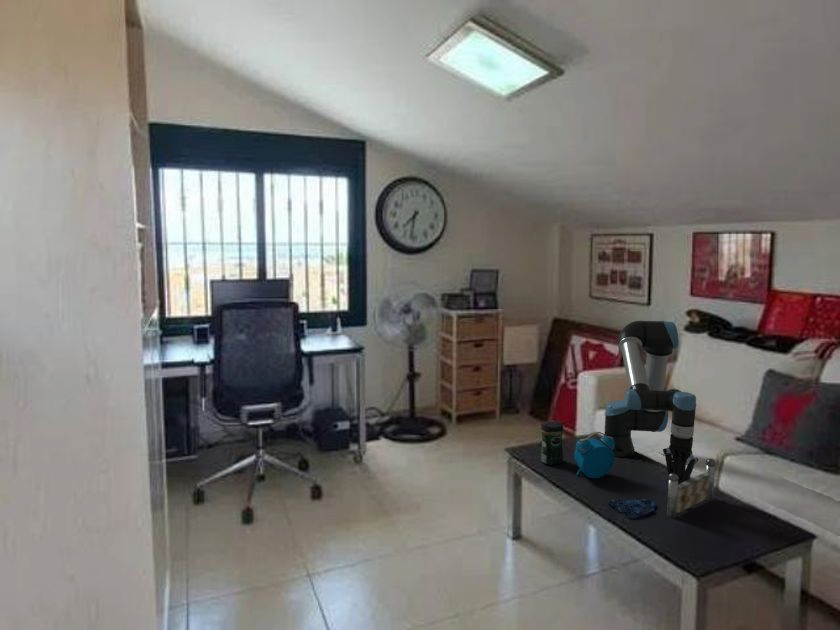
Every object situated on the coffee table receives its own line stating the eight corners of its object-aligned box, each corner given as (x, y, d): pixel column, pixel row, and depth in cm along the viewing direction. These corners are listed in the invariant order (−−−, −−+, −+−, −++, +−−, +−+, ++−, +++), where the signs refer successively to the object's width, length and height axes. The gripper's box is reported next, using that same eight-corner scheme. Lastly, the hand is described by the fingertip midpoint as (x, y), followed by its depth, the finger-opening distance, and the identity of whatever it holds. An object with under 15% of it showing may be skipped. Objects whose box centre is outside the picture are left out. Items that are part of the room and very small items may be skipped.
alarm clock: (603, 469, 247) (605, 424, 245) (617, 479, 237) (619, 432, 235) (568, 473, 243) (569, 427, 240) (580, 483, 233) (582, 435, 231)
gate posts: (706, 496, 221) (709, 456, 219) (715, 499, 218) (717, 459, 216) (664, 515, 206) (666, 472, 204) (673, 519, 203) (675, 475, 201)
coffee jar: (556, 457, 261) (557, 417, 259) (565, 464, 254) (566, 423, 251) (537, 460, 259) (538, 419, 256) (545, 466, 251) (546, 425, 249)
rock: (603, 503, 216) (603, 498, 216) (642, 498, 221) (643, 493, 220) (627, 522, 202) (627, 516, 202) (668, 516, 207) (669, 511, 206)
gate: (703, 496, 218) (704, 472, 217) (712, 499, 215) (713, 475, 214) (674, 510, 206) (675, 485, 205) (683, 514, 204) (684, 488, 202)
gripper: (660, 431, 213) (655, 492, 216) (692, 442, 202) (686, 505, 206) (672, 428, 217) (667, 487, 220) (704, 438, 206) (698, 500, 210)
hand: (676, 496), depth 213 cm, fingers closed
